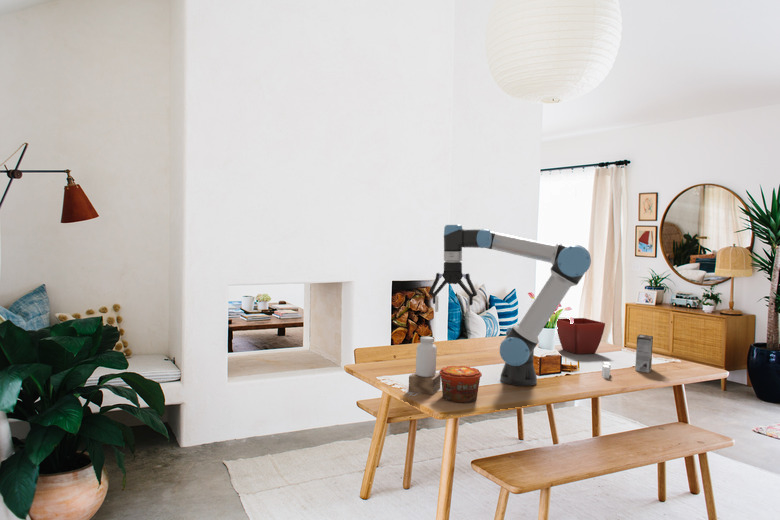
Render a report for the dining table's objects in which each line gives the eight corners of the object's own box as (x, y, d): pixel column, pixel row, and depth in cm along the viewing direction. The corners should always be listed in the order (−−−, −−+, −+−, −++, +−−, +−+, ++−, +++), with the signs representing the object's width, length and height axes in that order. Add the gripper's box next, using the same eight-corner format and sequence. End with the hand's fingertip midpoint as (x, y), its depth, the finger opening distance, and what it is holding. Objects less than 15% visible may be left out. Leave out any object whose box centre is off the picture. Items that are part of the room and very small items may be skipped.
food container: (430, 395, 215) (431, 367, 214) (462, 390, 223) (463, 363, 223) (456, 407, 201) (457, 377, 201) (489, 400, 210) (490, 372, 209)
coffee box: (637, 367, 272) (638, 334, 271) (651, 369, 268) (653, 335, 268) (634, 370, 264) (636, 336, 263) (649, 372, 261) (651, 338, 260)
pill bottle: (434, 378, 217) (435, 340, 216) (414, 376, 218) (415, 338, 218) (436, 373, 225) (438, 336, 224) (417, 371, 226) (418, 335, 225)
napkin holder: (601, 371, 263) (602, 359, 263) (624, 376, 254) (625, 364, 254) (584, 375, 254) (584, 363, 253) (607, 381, 245) (607, 368, 244)
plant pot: (553, 348, 311) (554, 318, 310) (582, 347, 316) (583, 317, 316) (574, 355, 293) (575, 324, 292) (604, 354, 298) (606, 323, 297)
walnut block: (440, 388, 225) (440, 373, 224) (432, 394, 215) (433, 379, 215) (416, 385, 228) (417, 370, 228) (408, 391, 219) (409, 376, 219)
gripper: (421, 261, 233) (421, 312, 234) (481, 262, 225) (480, 314, 226) (426, 260, 240) (425, 309, 241) (484, 261, 233) (483, 312, 233)
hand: (452, 312), depth 234 cm, fingers open, 13 cm apart
